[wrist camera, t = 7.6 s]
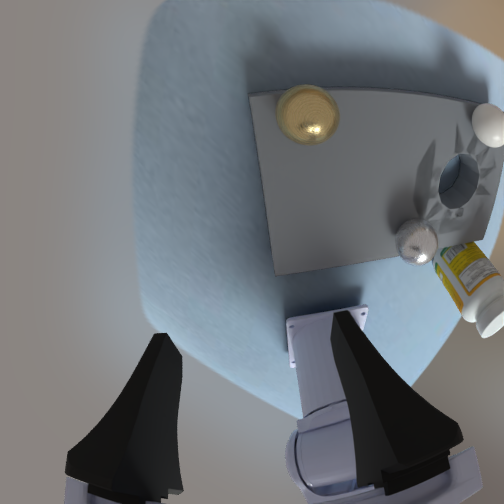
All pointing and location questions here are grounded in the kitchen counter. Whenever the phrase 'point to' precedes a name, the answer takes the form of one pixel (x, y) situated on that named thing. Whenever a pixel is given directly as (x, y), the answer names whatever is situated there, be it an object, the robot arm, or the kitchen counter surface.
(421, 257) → the steel ball
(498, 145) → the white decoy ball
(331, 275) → the kitchen counter surface
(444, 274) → the supplement bottle
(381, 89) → the plate
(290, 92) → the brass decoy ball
